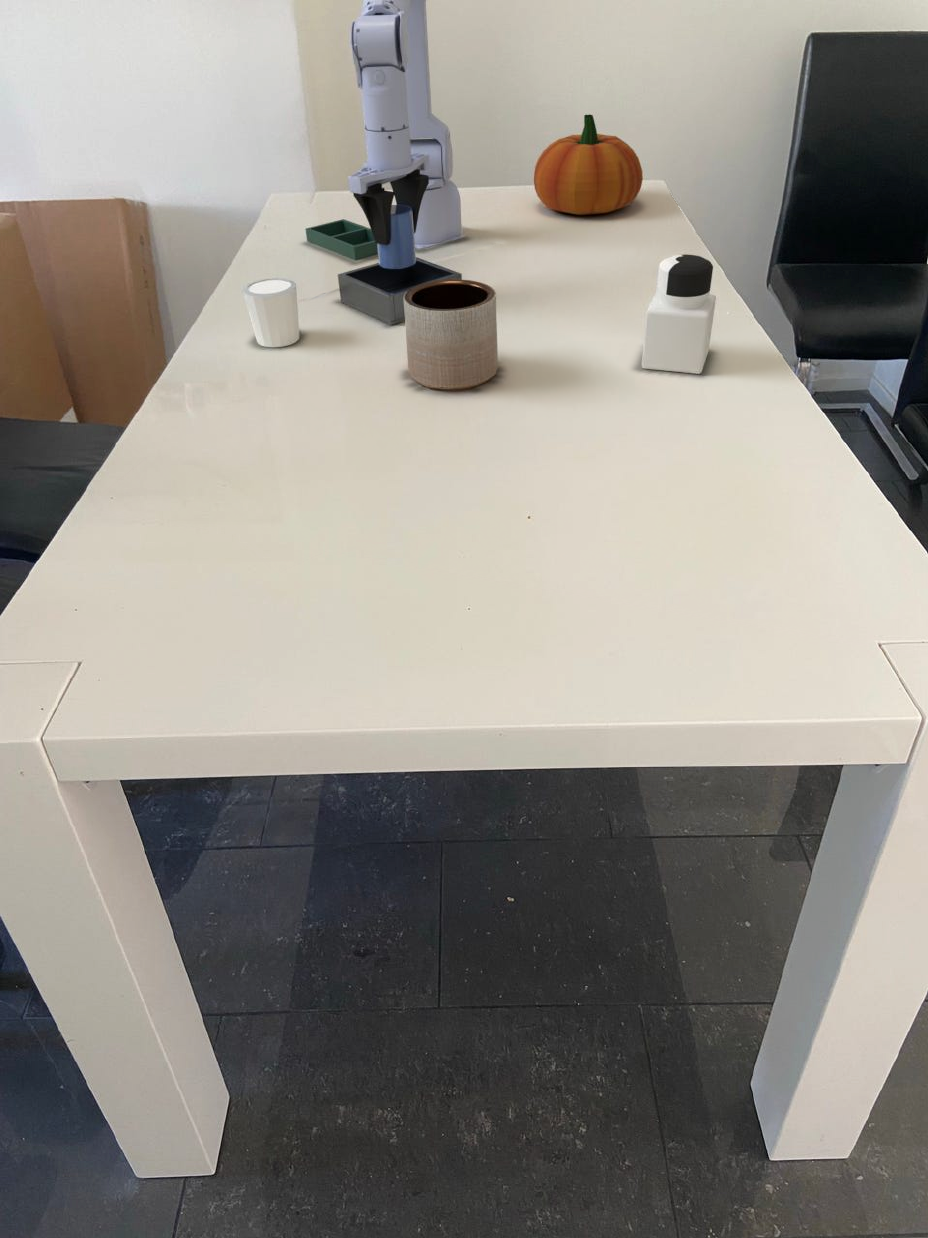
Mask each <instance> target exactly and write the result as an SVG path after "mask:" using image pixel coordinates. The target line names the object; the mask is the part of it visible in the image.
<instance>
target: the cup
mask: <svg viewBox="0 0 928 1238" xmlns="http://www.w3.org/2000/svg"><path fill="white" fill-rule="evenodd" d="M390 226H391V239H390V244H389V245H382V244H377V248H378V254H377V257H378V258H377V259H378V263H379V265H380V266H381V267H383V268H387V269H402V268H407V267H410V266H413V265H414V264H415V263H416V257H417V255H416V247H415V240H414V226H413V212H412V208H411V207H409V206H405V205H397V204H392V207H391V216H390Z"/></svg>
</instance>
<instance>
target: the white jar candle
mask: <svg viewBox="0 0 928 1238" xmlns="http://www.w3.org/2000/svg"><path fill="white" fill-rule="evenodd" d="M242 294H243V298H244V301H245V305H246V307H247V312H248V315H249V318H250V321H251V325H252V329H253V332H254V336H255V340H256V342H257V343H258V345H259V346H262V347H264V348H282V347H287V346H291V345H292V344H295V343H297V341H299V340H300V323H299V309H298V294H297V283H296V282H295V281H294V280H292V279H288V278H280V277H279V278H278V277H276V278H264V279H260V280H255V281H252V282H249V283H248V284H246V285H245V286H243V288H242Z"/></svg>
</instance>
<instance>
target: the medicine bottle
mask: <svg viewBox="0 0 928 1238" xmlns="http://www.w3.org/2000/svg"><path fill="white" fill-rule="evenodd" d="M713 271H714V265H713V263H712V262H711V261H710V260H709V259H707V258H704V257H703V256H700V255H696V254H675V255H672V256H669V257H667V258H664V259H662V261H661V262H660V263H659V266H658V274H657V275H658V276H657V283H656V285H657V286H656V292H655V294H654V295H653V298H652V300H651V302H650V304H649V305H648V308H647V309H646V314H645V324H644V335H643V345H642V346H643V347H642V358H641V368H642V369H645V370H656V371H667V372H675V373H686V374H696V375H699V374H701V373H702V372H703V369H704V366H705V363H706V359H707V357H708V353H709V351H710V345H711V337H712V329H713V323H714V315H715V310H716V309H715V307H716V303H717V302H716V301H717V296H716V295H715V294H711V287H712V278H713V273H714V272H713Z"/></svg>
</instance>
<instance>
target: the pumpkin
mask: <svg viewBox="0 0 928 1238" xmlns="http://www.w3.org/2000/svg"><path fill="white" fill-rule="evenodd" d="M583 124H584V125H583V126H584V127H583V128H582V132H581V134H571V135H568V136H565V137H562V138H558V139H556V140H555V141H554V142H552V143H550V144H549V145H548V146H547V147H546V148H545V149H544V150H543V151H542V152H541V154H540V155H539V156H538V158H537V161H536V164H535V166H534V174H533V185H534V190H535V194H536V196H537V197H538V199H539V200H540V202H541V203H542V205H544V206H545V207H546V209H549V210H553V211H557V212H560V213H567V214H571V215H576V216H589V215H603V214H606V213H610V212H613V211H616V210H620V209H621V208H625V207H626V206H628V205H630V204H632V203H633V202H634V200H635V199H636V198H637V197H638V195H639V193H640V191H641V188H642V185H643V178H644V177H643V168H642V165H641V162H640V159H639V156H638V155H637V154H636V152H635V150H634V149H633V148H632V147H631V146H630V145H629V144H628V143H627V142H625V141H624V140H623V139H621V138H620V137H618V136H616V135H609V134H608V135H606V134H601V133H598V132H597V126H596V122H595V118H594V115H593V114H585V115H583Z"/></svg>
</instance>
